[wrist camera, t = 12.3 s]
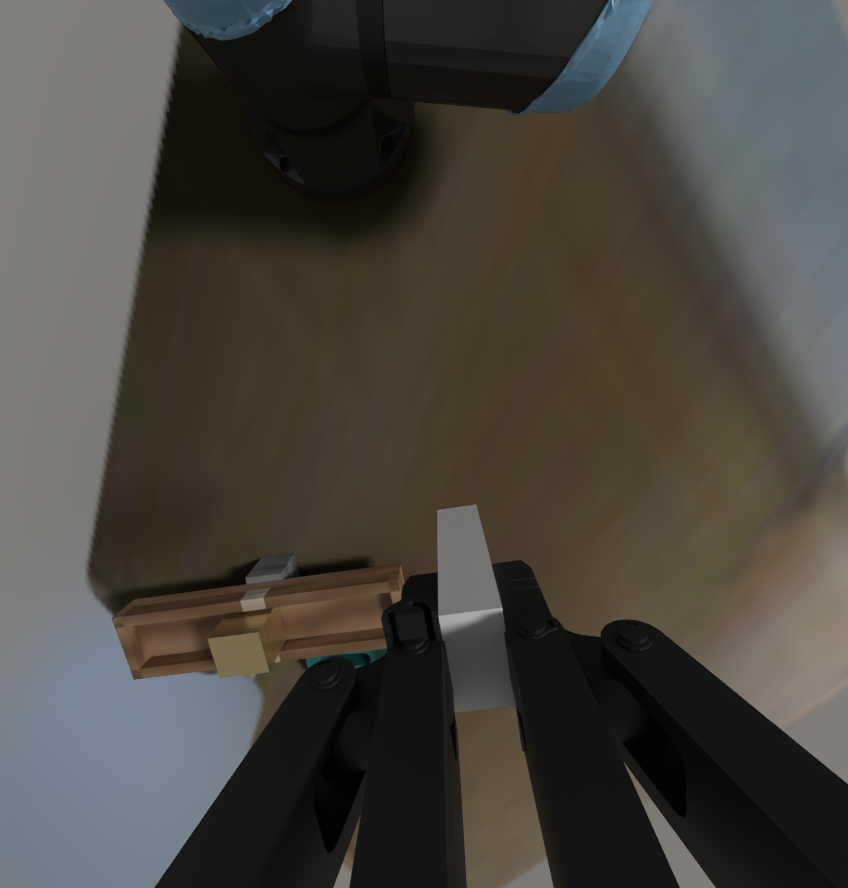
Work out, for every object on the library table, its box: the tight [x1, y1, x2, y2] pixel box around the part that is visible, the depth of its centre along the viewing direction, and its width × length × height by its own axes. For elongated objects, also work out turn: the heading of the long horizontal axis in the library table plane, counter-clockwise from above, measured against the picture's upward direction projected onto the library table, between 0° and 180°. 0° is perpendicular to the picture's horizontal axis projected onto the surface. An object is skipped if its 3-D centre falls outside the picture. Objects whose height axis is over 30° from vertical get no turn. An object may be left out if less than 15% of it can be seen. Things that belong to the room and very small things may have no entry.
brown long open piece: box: [112, 553, 404, 680], centre depth 47 cm, size 9×30×8 cm, turn 99°
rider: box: [208, 607, 287, 678], centre depth 43 cm, size 4×5×5 cm
